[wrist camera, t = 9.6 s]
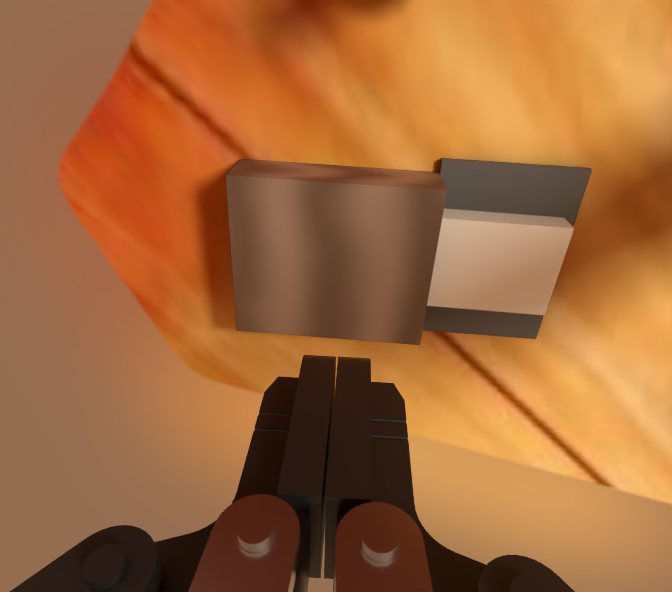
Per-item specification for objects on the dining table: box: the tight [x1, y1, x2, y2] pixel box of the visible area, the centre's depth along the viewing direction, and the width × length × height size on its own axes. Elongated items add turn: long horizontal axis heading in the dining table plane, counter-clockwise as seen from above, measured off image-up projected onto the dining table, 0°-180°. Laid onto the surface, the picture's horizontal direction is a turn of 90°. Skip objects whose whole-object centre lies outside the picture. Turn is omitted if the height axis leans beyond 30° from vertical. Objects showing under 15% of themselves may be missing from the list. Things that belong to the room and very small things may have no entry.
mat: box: [423, 158, 592, 339], centre depth 35 cm, size 10×14×1 cm
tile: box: [427, 209, 574, 315], centre depth 34 cm, size 9×7×2 cm
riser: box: [226, 159, 447, 345], centre depth 34 cm, size 14×12×4 cm
